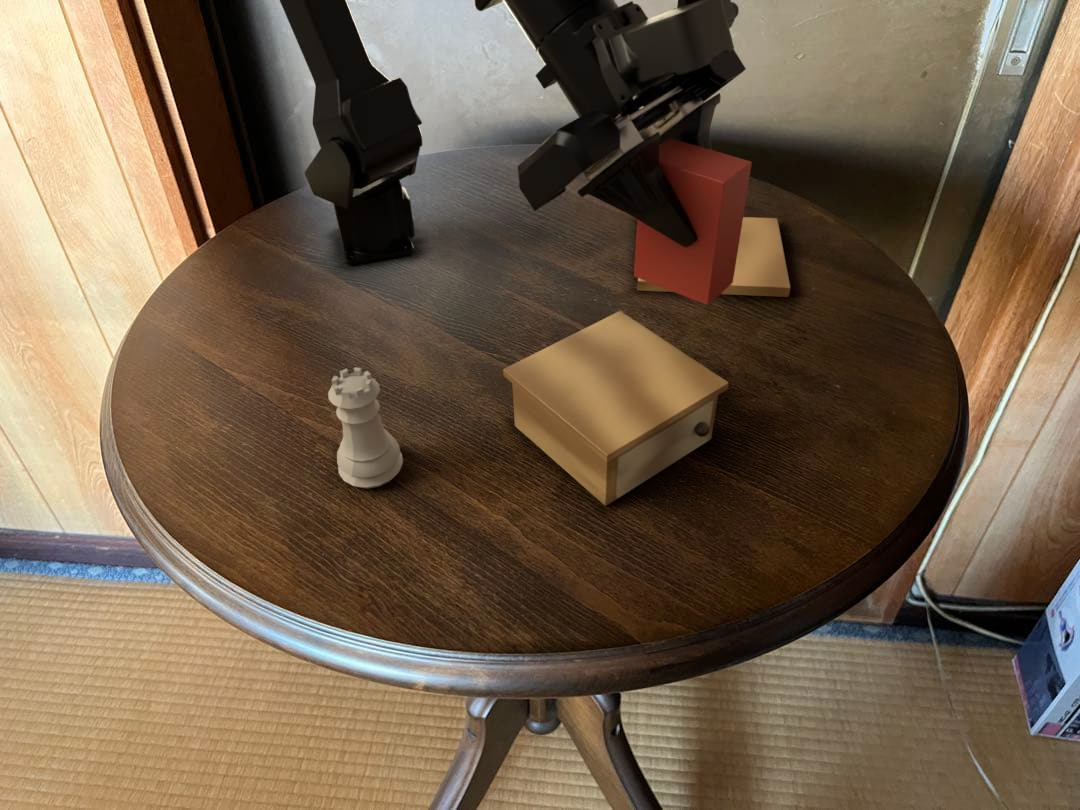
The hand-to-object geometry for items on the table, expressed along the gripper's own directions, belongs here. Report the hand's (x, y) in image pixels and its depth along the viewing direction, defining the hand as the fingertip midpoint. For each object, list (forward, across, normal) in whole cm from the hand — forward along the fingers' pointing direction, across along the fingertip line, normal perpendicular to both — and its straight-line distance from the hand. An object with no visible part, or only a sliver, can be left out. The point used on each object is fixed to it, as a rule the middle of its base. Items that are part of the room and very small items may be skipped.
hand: (706, 231), depth 55 cm
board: (+4, +17, +15) cm, 23 cm away
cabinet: (+8, -8, +10) cm, 15 cm away
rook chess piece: (0, -21, +18) cm, 28 cm away
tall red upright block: (+2, 0, +4) cm, 5 cm away
